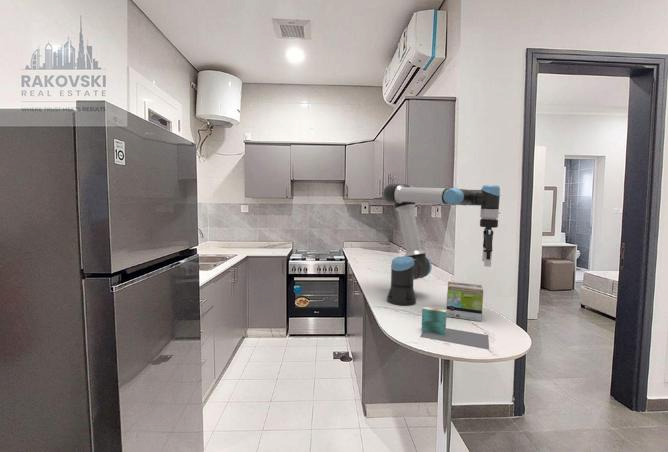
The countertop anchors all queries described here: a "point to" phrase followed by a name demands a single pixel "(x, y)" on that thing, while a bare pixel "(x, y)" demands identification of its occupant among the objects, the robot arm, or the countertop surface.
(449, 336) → the mat
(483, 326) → the countertop surface
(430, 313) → the tile
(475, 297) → the tea box
